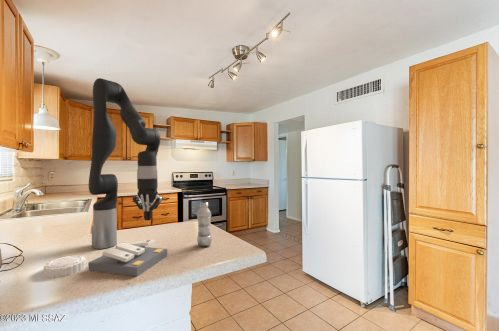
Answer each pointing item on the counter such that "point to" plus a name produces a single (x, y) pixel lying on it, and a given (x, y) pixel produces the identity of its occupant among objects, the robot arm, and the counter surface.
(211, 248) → the counter surface
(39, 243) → the counter surface
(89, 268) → the switch console
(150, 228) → the counter surface
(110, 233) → the robot arm
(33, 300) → the counter surface
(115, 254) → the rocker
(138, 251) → the plate
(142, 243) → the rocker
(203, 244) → the plastic bottle
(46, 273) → the mooncake
